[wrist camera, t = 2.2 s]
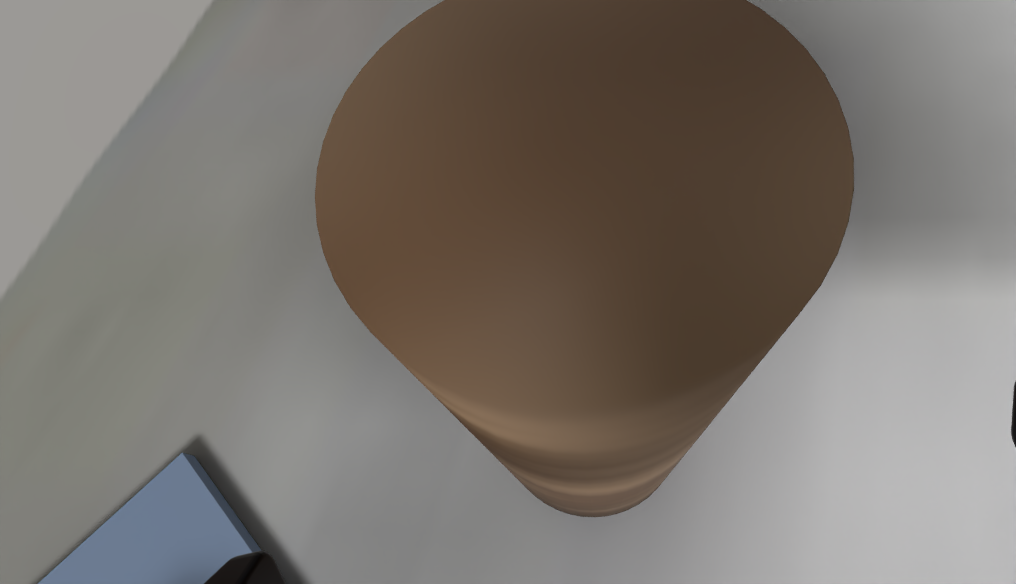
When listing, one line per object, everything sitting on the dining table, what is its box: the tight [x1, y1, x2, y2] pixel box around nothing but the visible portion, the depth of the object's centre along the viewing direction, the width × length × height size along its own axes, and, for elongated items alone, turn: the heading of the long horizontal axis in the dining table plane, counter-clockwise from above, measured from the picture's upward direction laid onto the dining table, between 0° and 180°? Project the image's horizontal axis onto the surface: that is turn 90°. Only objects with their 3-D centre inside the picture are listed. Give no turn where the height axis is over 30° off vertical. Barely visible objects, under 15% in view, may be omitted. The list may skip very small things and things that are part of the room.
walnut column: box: [315, 0, 854, 517], centre depth 12 cm, size 5×5×13 cm
